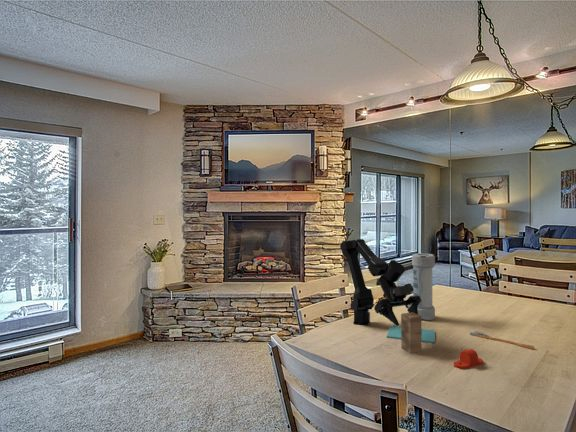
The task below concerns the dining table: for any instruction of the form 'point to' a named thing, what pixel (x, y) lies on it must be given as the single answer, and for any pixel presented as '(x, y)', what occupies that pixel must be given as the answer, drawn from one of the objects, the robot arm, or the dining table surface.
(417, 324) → the walnut block
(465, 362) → the bracket
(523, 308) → the dining table surface
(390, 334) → the mat
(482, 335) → the axe
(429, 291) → the canister
